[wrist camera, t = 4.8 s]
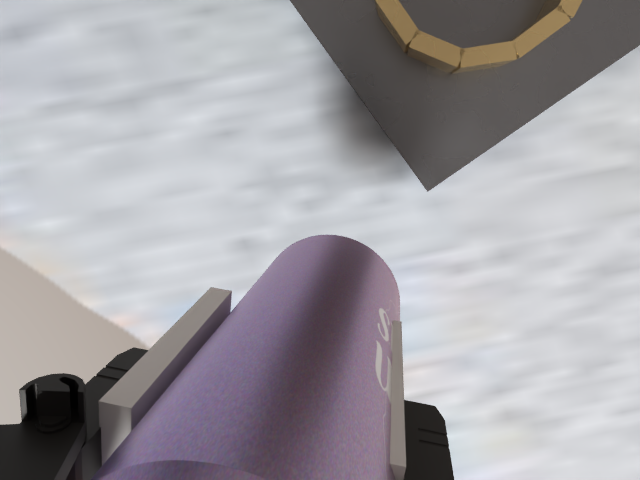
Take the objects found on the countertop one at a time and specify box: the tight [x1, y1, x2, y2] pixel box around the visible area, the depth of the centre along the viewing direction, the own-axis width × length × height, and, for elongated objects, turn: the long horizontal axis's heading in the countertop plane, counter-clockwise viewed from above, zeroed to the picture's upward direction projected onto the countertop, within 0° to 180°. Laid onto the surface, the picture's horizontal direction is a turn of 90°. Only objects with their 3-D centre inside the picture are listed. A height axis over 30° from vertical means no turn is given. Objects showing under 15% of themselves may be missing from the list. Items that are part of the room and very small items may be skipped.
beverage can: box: [91, 235, 400, 480], centre depth 14 cm, size 6×6×15 cm
